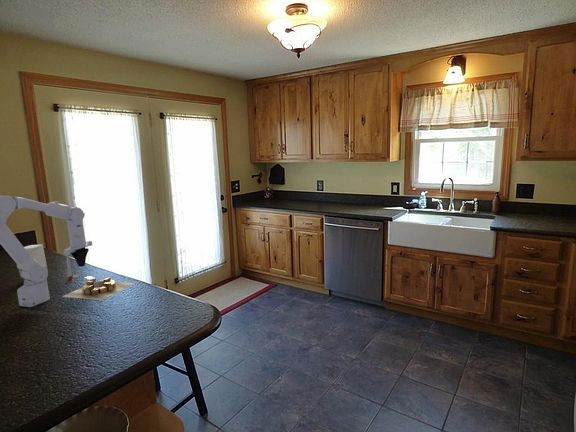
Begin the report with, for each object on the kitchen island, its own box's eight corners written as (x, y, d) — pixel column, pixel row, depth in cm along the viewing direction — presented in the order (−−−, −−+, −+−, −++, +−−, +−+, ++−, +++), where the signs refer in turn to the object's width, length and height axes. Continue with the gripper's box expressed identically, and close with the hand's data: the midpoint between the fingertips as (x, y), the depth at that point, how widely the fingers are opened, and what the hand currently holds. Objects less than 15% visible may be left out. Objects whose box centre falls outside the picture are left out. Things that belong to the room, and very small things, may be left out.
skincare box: (36, 280, 167) (31, 248, 164) (23, 280, 167) (17, 249, 165) (49, 274, 176) (43, 243, 173) (36, 274, 176) (30, 244, 173)
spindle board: (102, 303, 137) (101, 291, 136) (62, 299, 143) (60, 288, 142) (135, 285, 154) (134, 275, 153) (98, 282, 160) (97, 273, 159)
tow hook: (84, 275, 173) (64, 280, 165) (82, 249, 171) (61, 253, 163) (93, 278, 168) (73, 283, 160) (91, 251, 166) (70, 256, 158)
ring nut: (99, 296, 140) (98, 287, 140) (67, 293, 145) (66, 285, 145) (121, 284, 152) (120, 277, 151) (91, 282, 157) (90, 275, 156)
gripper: (73, 239, 142) (78, 271, 145) (96, 231, 157) (101, 260, 159) (57, 239, 143) (62, 271, 146) (82, 231, 157) (86, 260, 160)
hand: (81, 266), depth 152 cm, fingers closed
